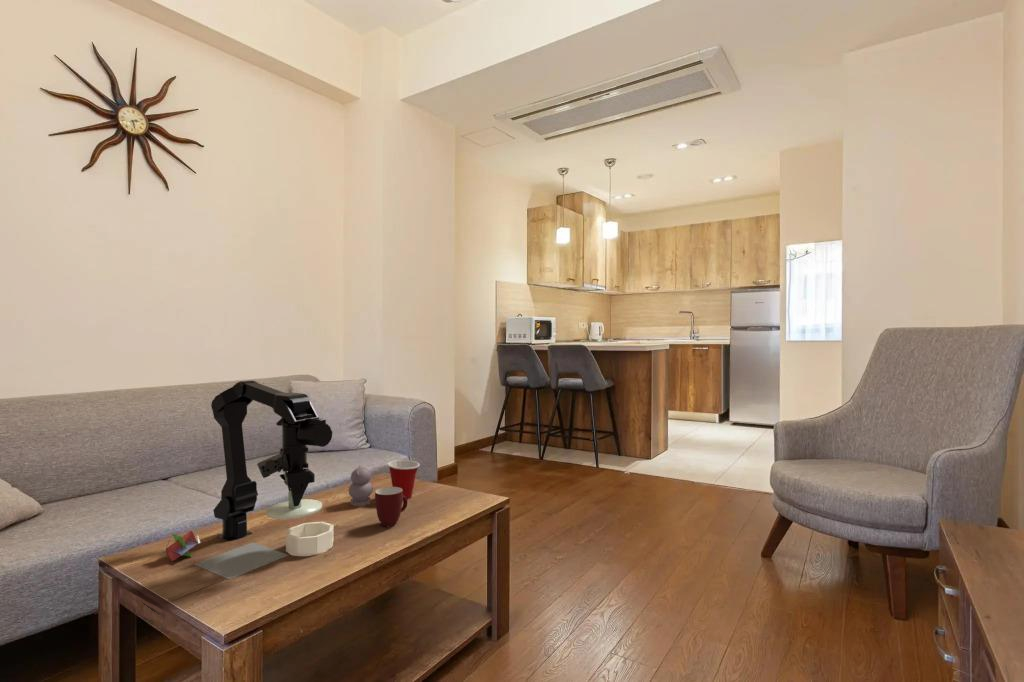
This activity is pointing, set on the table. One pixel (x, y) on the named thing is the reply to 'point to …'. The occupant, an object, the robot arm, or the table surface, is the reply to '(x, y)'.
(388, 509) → the mug
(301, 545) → the bowl
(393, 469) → the plastic cup
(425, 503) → the table surface
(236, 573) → the mat
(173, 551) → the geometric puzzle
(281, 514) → the lid
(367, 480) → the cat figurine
